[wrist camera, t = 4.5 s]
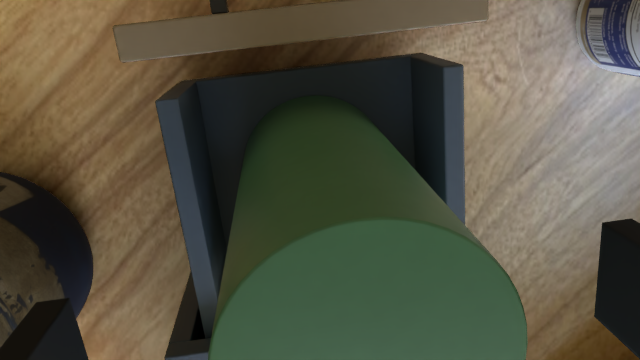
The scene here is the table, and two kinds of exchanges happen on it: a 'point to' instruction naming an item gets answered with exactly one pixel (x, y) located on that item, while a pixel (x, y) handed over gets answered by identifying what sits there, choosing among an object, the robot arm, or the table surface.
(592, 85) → the table surface
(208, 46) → the drawer
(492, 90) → the table surface
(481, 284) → the can
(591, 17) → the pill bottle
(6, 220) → the canister
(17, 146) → the table surface
